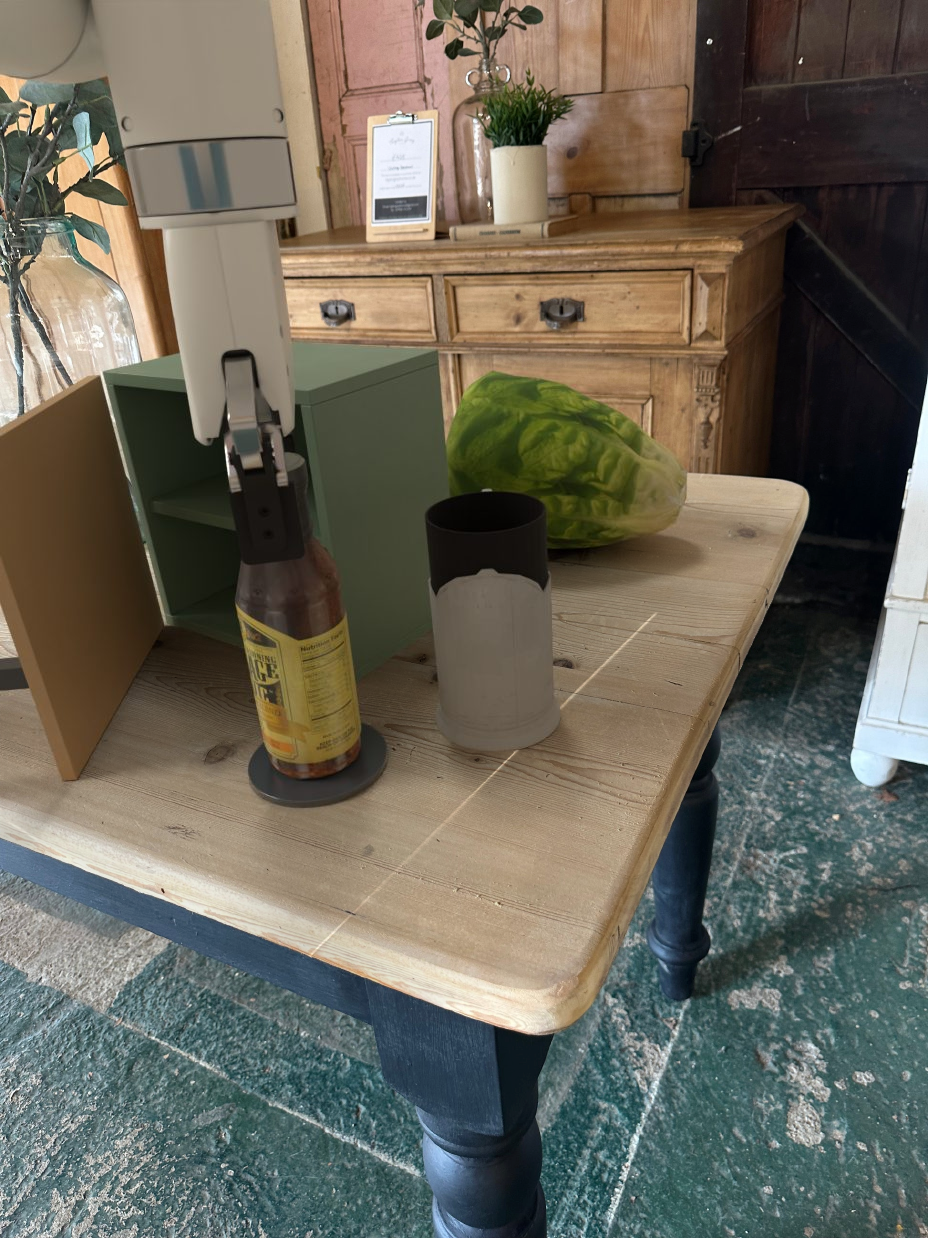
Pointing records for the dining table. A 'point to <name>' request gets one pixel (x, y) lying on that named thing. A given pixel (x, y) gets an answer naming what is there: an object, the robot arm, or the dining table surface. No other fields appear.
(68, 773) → the cupboard door
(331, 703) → the sauce bottle
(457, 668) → the glass holder
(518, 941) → the dining table surface
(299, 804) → the coaster
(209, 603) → the cupboard
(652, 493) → the lettuce
